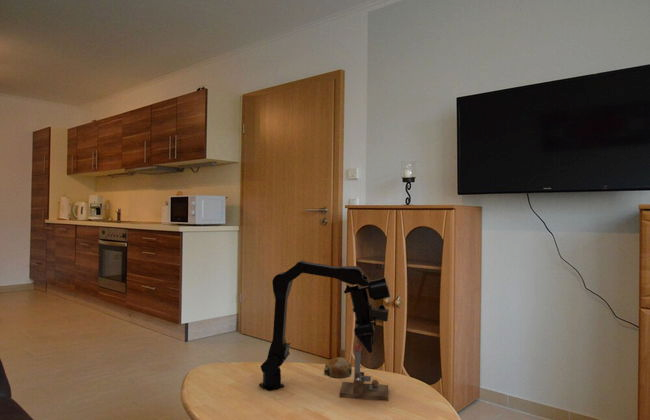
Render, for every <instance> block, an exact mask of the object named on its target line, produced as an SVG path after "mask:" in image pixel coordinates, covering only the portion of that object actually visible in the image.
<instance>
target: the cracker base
mask: <svg viewBox="0 0 650 420" xmlns="http://www.w3.org/2000/svg"><path fill="white" fill-rule="evenodd" d="M360 374H362V376H365V372H364V371H360ZM339 398H344V399H345V398H346V399H358V400H359V399H360V400H371V401H381V402H382V401H384V402H388V401H389V384H379V381H378V379H373V380H372V381H371V383H367V382H366V383H365V381H359V380H353V382H349V381H342V383H341V387H340V389H339Z"/></svg>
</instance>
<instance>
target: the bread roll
mask: <svg viewBox="0 0 650 420" xmlns="http://www.w3.org/2000/svg"><path fill="white" fill-rule="evenodd" d="M352 369H353V368H352V364H351V362H350V361H349V360H348V359H346V358H345V357H341V356H340V357H338V356H337V357H333V358H332V359H331V358H330V360H328V362H327V363H325V365H324V369H323V371H324V374H326V376H328V377H331V378H335V379H339V378H340V379H345V378H349V377H351V376H352Z"/></svg>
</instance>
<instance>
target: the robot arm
mask: <svg viewBox="0 0 650 420" xmlns="http://www.w3.org/2000/svg"><path fill="white" fill-rule="evenodd" d="M302 274H308V275H313V276H320V277H324V278H326V277H327V278H331V279H336V280H339V281H341V282H343V283H345V284H347V285H346V287H345V289H344V291H343V293H344V294H349V295H350V299H351V303H352V312H353V313H354V316H355V326H354V329H353V331H354V334H355V335H354V336H355V337H356V338H357V339H358V340H359V341H360V343H361V344H362V345H363V347H364V348H365V349H366V351H367V352H368V353H369V354H372V353H373V345H374V344H375V341H374V340H375V339H374V334H375V332H376V331H375V330H376V329H375V327H376V325H377V321H382V322H388V319H389V309H388V308H386V307H385V304H379V306H377V307H373V306H372V303H371V302H370V299H372V300H373V301H378V300H384V299H389V298H391V294H390V289H389V285H388V283H387V279H386V277H380V278H379V279H373V280H370V278H369V277H367V276H366V275H365V274H364V271H363V269H362V268H361V267H360V266H357V265H351V266H350V265H345V266H333V265H330V264H329V265H328V264H323V263H322V264H321V263H316V262H309V261H305V260H299V261H298V262H297V263H296V264H295V265H294V266H293V265H292V267H291V268H289V269H288V270H286V271H283V272H280V273H278V274H276V275H275V276H274V277H273V278H272V291H273V295H274V315H273V332H272V341H271V344H270V346H269V350H268V353H267V358H266V359H265V361H264V362H262V364H261V365H260V371H261V372H262V382H260V383H259V384H258V386H259V387H261V388H264V389H265V390H267V391H269V392H270V391H273V390H276V389H281V388H284V387H285V385H284V384H283V383H282V374H281V372H282V369H281V366H282V365H283V364H284V363H285V361H286V360H287V358H288V357H289V356H290V345H291V343H290V342H287V341H286V327H287V313H288V312H287V311H288V301H289V296H290V293H291V291H292V287H293V281H294V280H295V279H296V278H298V277H299V276H301V275H302ZM351 285H352V286H351ZM369 298H370V299H369Z"/></svg>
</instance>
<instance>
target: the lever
mask: <svg viewBox="0 0 650 420" xmlns="http://www.w3.org/2000/svg"><path fill="white" fill-rule="evenodd" d="M362 350H363V347H362V345H361V344H360V343H359V342H358V343H355V344H354V345H353V351H354V375H353V379H354V380H359V381H364V382H366V383H367V382H369V383H370V382H371V383H372V381H371V380H372V376H371V375H364V376H362V374H360V372H361V351H362ZM354 380H353V381H354Z"/></svg>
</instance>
